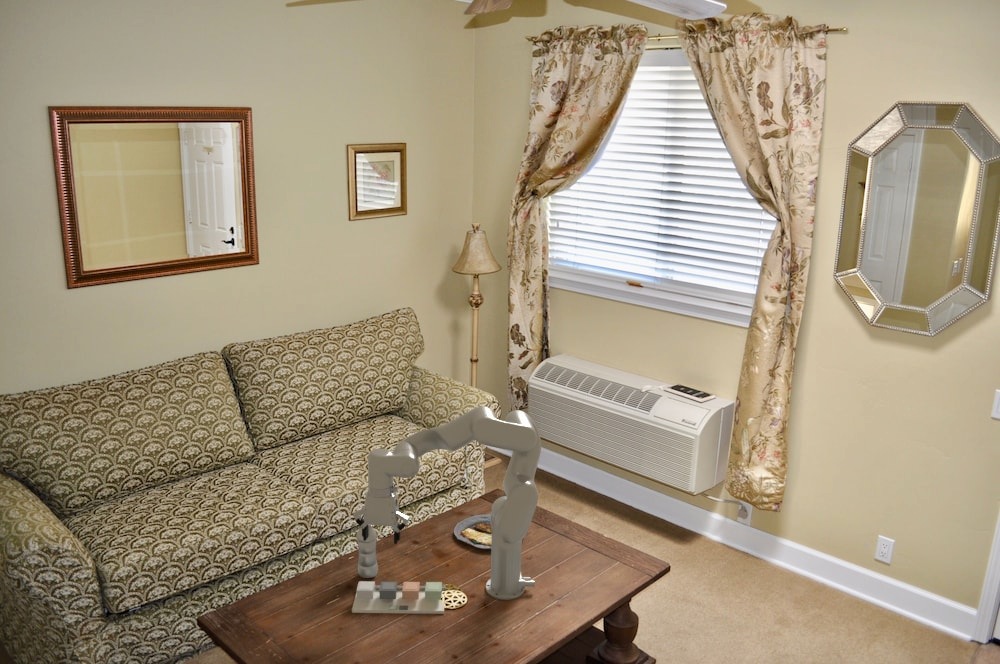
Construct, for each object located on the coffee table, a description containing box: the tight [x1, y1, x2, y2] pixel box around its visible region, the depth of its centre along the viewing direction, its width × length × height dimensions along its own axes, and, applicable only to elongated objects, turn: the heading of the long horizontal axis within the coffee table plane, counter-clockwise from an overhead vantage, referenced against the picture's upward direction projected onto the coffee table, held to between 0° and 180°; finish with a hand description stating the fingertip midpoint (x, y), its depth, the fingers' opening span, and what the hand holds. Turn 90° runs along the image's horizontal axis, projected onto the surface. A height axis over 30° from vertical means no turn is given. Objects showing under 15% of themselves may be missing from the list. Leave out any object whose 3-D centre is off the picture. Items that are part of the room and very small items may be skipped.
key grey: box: [356, 580, 376, 599], centre depth 260 cm, size 5×5×3 cm
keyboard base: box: [351, 584, 447, 615], centre depth 261 cm, size 28×12×2 cm, turn 91°
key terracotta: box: [402, 581, 421, 600], centre depth 260 cm, size 5×5×3 cm
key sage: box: [425, 581, 443, 600], centre depth 260 cm, size 5×5×3 cm
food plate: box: [453, 513, 492, 550], centre depth 301 cm, size 25×23×4 cm
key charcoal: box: [379, 581, 398, 599], centre depth 260 cm, size 5×5×3 cm
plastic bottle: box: [355, 518, 379, 579], centre depth 272 cm, size 6×7×20 cm
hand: (381, 540), depth 257 cm, fingers open, 9 cm apart
